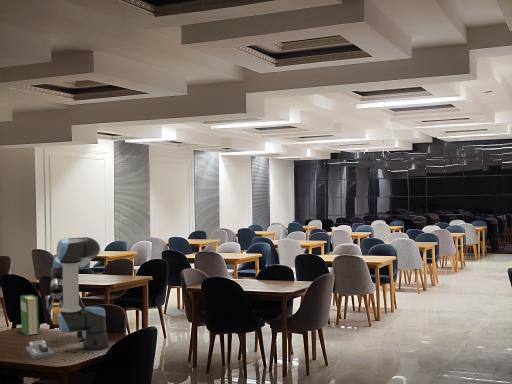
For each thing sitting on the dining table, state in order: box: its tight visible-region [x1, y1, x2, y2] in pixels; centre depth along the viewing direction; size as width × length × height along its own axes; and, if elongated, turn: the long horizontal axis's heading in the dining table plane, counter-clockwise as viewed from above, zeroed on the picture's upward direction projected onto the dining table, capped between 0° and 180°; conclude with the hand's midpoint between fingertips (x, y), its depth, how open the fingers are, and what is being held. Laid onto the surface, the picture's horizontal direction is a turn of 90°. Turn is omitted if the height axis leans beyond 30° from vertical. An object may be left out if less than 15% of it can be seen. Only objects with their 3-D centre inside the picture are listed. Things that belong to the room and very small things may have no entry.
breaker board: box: [25, 339, 55, 360], centre depth 375 cm, size 26×11×6 cm, turn 28°
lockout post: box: [52, 302, 61, 325], centre depth 393 cm, size 4×4×12 cm
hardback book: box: [19, 294, 40, 337], centre depth 434 cm, size 18×7×24 cm, turn 31°
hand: (56, 319), depth 390 cm, fingers closed on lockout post, 4 cm apart
